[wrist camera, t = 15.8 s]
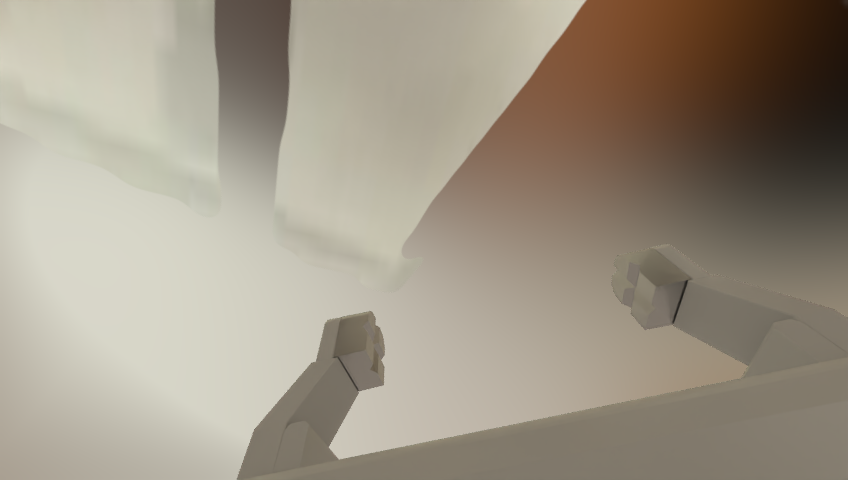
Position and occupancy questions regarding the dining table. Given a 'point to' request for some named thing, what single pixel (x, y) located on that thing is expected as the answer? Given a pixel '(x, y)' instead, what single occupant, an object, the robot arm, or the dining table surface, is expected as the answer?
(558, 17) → the dining table surface
